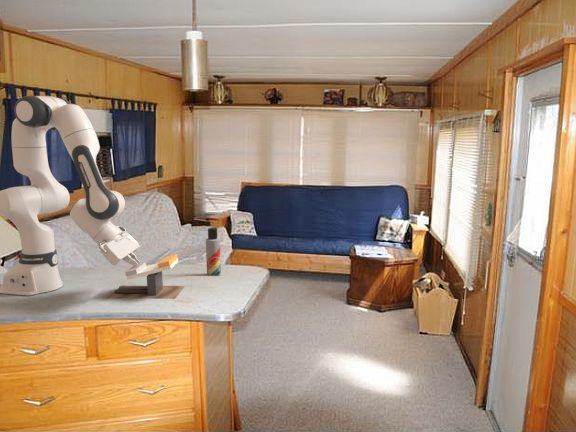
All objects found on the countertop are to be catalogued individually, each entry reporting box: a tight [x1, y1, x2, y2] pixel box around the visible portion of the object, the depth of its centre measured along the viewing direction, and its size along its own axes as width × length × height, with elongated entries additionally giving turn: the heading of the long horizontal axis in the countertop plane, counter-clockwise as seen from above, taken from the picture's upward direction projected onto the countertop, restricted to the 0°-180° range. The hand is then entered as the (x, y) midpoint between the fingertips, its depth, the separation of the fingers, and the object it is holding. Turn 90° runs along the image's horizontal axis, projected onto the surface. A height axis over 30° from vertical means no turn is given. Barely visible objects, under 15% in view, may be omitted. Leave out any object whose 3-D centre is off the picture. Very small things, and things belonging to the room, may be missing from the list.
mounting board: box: [106, 284, 186, 300], centre depth 175 cm, size 24×14×2 cm, turn 87°
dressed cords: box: [114, 285, 148, 294], centre depth 175 cm, size 12×5×1 cm, turn 87°
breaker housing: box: [146, 271, 164, 296], centre depth 175 cm, size 3×8×7 cm, turn 178°
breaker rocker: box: [124, 253, 179, 281], centre depth 174 cm, size 16×10×3 cm, turn 87°
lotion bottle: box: [205, 226, 222, 277], centre depth 199 cm, size 6×6×20 cm
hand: (137, 264), depth 174 cm, fingers closed
